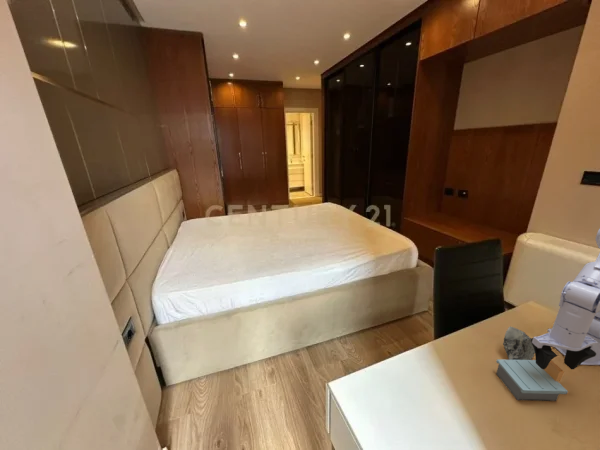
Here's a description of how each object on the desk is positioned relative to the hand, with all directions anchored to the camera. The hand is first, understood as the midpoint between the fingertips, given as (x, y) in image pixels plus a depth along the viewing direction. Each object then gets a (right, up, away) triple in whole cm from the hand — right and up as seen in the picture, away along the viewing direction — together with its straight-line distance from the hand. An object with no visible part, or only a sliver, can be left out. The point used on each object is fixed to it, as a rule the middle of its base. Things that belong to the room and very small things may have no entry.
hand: (554, 366), depth 66 cm
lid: (-5, -4, +2) cm, 7 cm away
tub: (-6, -8, +3) cm, 10 cm away
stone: (+1, -4, +13) cm, 14 cm away
